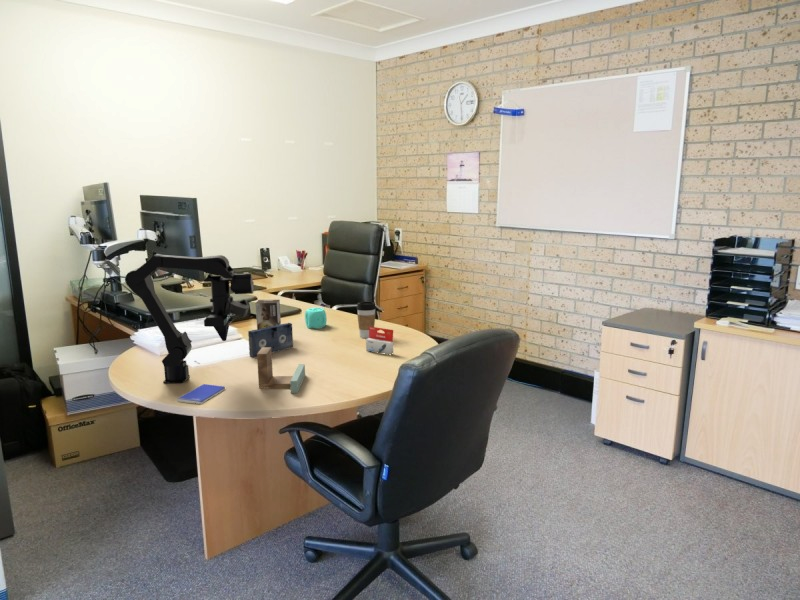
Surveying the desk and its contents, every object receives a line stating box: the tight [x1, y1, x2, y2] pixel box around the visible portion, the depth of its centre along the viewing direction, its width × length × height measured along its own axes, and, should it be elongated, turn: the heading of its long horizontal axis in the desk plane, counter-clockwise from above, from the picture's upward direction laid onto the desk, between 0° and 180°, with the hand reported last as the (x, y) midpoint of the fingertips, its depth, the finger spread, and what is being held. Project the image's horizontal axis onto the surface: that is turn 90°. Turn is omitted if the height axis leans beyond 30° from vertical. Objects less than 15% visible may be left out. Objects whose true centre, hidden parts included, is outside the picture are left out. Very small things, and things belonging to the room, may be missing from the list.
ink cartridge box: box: [365, 326, 394, 354], centre depth 208 cm, size 2×11×10 cm, turn 62°
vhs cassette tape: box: [247, 322, 294, 358], centre depth 209 cm, size 18×3×10 cm, turn 135°
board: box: [290, 363, 306, 394], centre depth 176 cm, size 2×16×4 cm, turn 1°
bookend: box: [256, 347, 293, 389], centre depth 175 cm, size 11×7×12 cm, turn 91°
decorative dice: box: [304, 307, 327, 330], centre depth 246 cm, size 8×8×8 cm
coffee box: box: [255, 299, 282, 330], centre depth 227 cm, size 9×6×16 cm
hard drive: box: [177, 383, 226, 405], centre depth 166 cm, size 2×8×12 cm
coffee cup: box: [356, 301, 377, 339], centre depth 229 cm, size 8×8×15 cm
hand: (224, 340), depth 179 cm, fingers closed
